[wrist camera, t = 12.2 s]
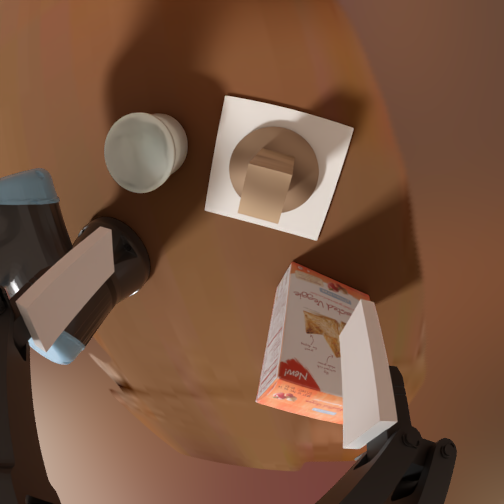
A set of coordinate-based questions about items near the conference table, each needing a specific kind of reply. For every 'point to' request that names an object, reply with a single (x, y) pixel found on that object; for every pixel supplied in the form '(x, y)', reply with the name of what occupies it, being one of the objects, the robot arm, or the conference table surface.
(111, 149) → the bowl
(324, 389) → the cracker box
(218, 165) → the mat
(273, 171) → the lid
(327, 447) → the conference table surface
